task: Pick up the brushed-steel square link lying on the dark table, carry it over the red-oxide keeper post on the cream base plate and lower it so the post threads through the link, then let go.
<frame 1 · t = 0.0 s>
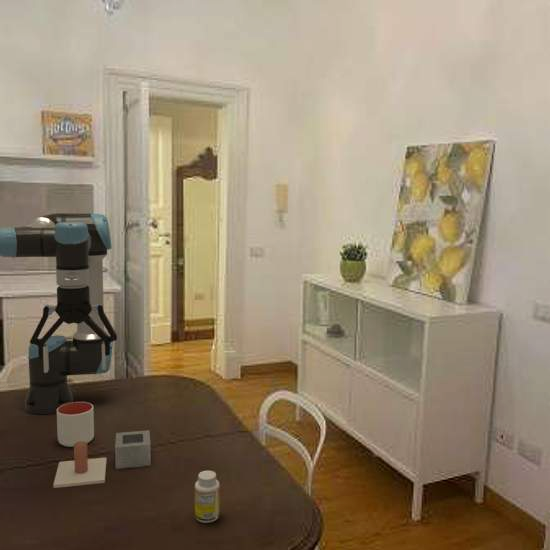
hand: (75, 369, 137), 28 cm above the table, fingers open, 13 cm apart
cup: (76, 441, 160), on the table
keeper post: (81, 473, 142), on the table
supplement bottle: (207, 517, 124), on the table
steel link: (133, 459, 150), on the table
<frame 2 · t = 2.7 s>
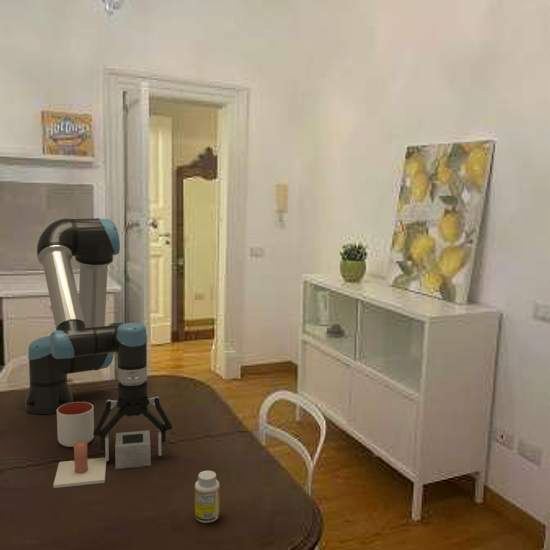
hand: (133, 456, 150), 1 cm above the table, fingers open, 13 cm apart
nothing on the table moved.
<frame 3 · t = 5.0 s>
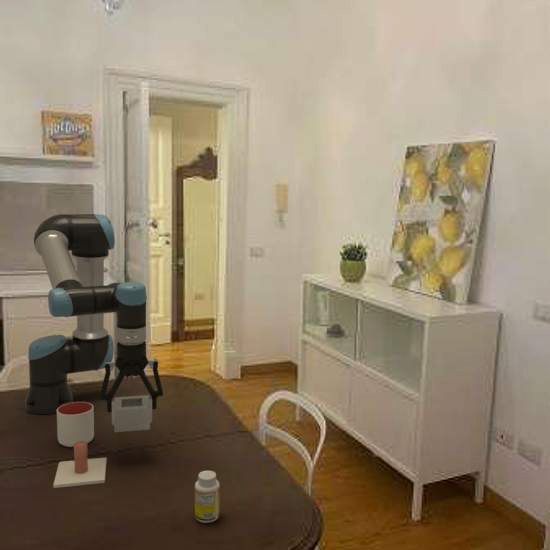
hand: (132, 421, 149), 11 cm above the table, fingers closed on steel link, 9 cm apart
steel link: (132, 423, 149), point 10 cm above the table, touching gripper
everything else where it was.
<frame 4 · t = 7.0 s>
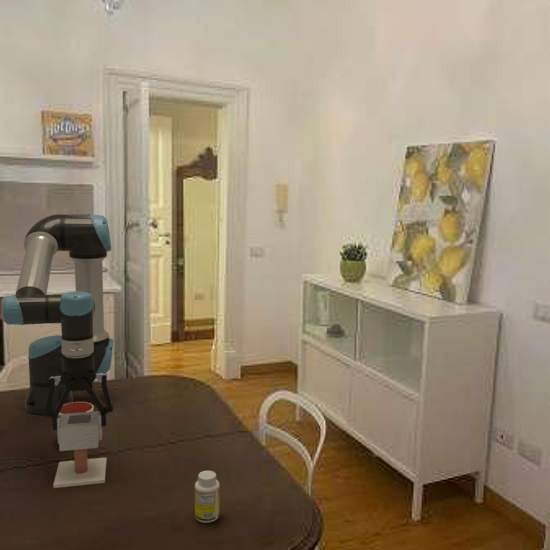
hand: (80, 439, 140), 9 cm above the table, fingers closed on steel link, 9 cm apart
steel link: (80, 441, 140), point 9 cm above the table, touching gripper
everything else where it was.
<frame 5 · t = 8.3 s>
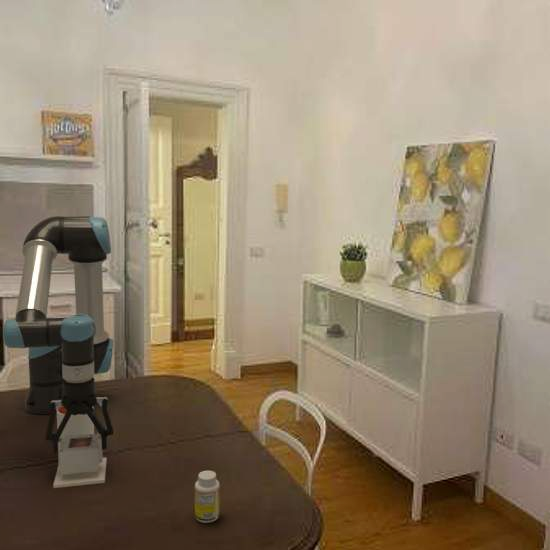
hand: (81, 462, 141), 3 cm above the table, fingers closed on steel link, 9 cm apart
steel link: (81, 464, 141), point 3 cm above the table, touching gripper
everything else where it was.
when the fingers open (3 cm above the table, at t = 9.1 s): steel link drops 2 cm, resting on keeper post.
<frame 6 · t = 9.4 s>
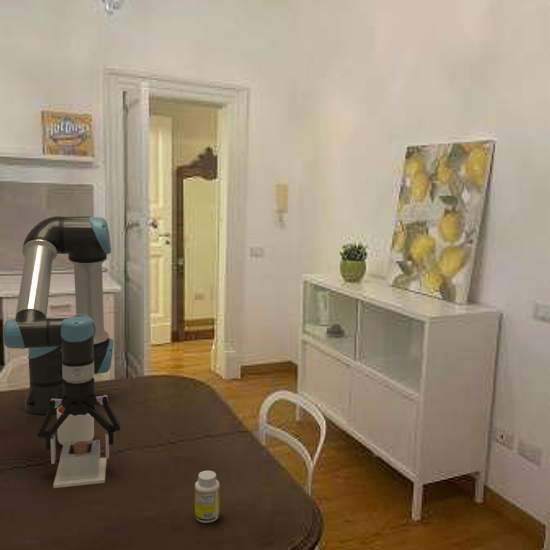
hand: (80, 458, 141), 4 cm above the table, fingers open, 12 cm apart
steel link: (81, 470, 142), point 1 cm above the table, touching keeper post
everything else where it was.
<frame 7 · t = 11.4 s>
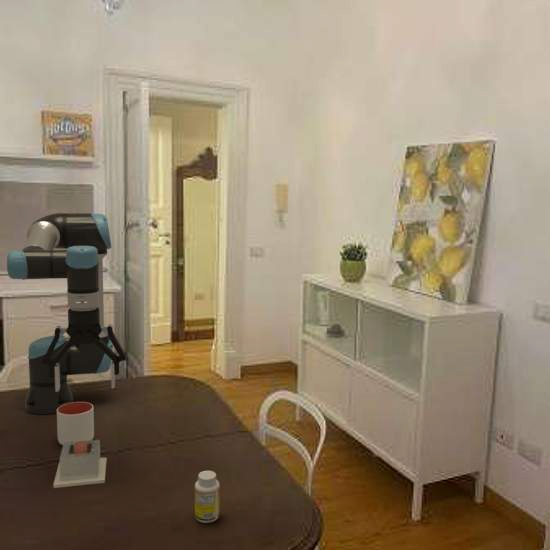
hand: (85, 388, 142), 22 cm above the table, fingers open, 13 cm apart
nothing on the table moved.
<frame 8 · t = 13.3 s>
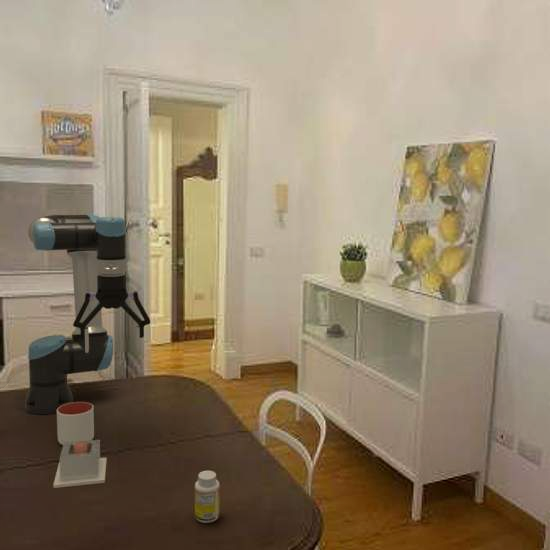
hand: (113, 350, 152), 29 cm above the table, fingers open, 13 cm apart
nothing on the table moved.
at the end: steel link 0.0 cm from the keeper post (horizontally); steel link point 0.8 cm above the table; the gripper is holding nothing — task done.
